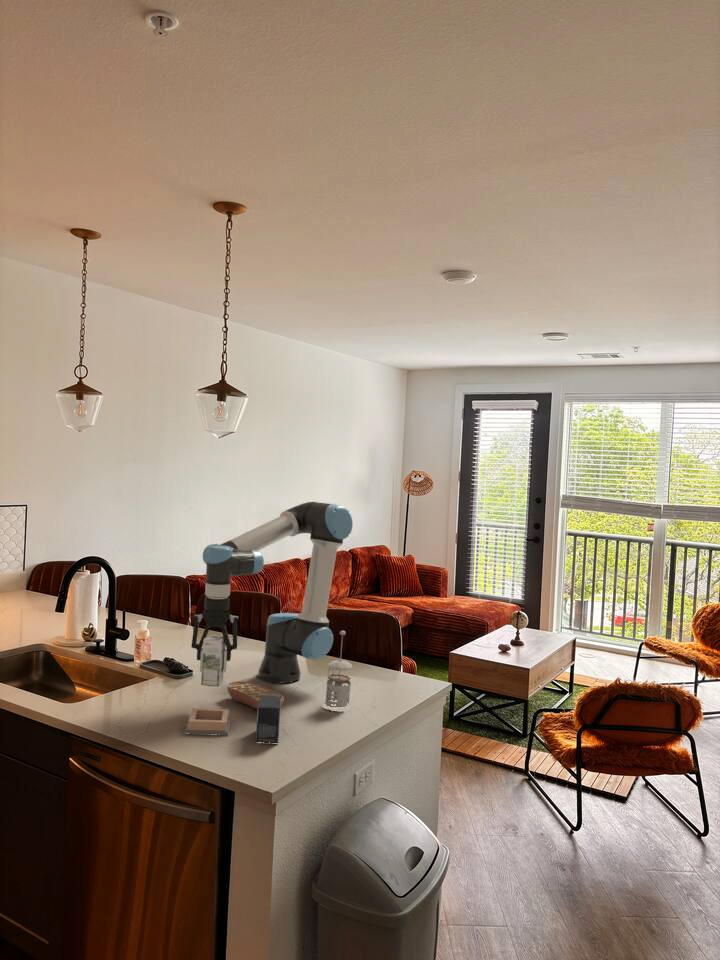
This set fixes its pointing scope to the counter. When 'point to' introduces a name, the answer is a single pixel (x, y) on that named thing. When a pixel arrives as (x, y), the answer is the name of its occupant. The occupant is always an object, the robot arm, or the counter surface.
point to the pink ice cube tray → (249, 693)
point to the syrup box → (213, 660)
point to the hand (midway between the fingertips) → (213, 670)
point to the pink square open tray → (208, 721)
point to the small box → (268, 719)
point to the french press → (338, 683)
